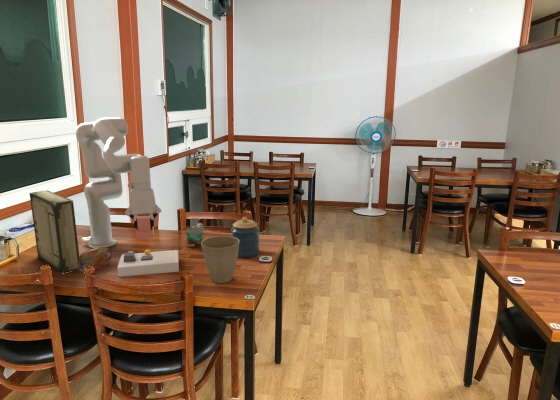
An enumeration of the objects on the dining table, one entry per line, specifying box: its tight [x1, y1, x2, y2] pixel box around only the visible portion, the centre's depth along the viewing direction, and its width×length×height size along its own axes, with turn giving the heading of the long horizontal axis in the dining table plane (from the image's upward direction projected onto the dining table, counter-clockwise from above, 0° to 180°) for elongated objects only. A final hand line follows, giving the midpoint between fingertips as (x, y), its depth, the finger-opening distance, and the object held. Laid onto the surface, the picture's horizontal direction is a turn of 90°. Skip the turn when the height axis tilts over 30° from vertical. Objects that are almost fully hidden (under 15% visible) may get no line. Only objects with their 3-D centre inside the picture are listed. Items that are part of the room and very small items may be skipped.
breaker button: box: [123, 251, 136, 262], centre depth 186 cm, size 4×4×4 cm
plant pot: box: [200, 235, 240, 284], centre depth 173 cm, size 15×15×16 cm
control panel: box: [29, 190, 82, 274], centre depth 190 cm, size 30×8×30 cm, turn 45°
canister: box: [230, 216, 261, 259], centre depth 202 cm, size 13×13×18 cm
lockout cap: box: [135, 215, 155, 240], centre depth 184 cm, size 7×7×8 cm
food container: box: [185, 221, 205, 249], centre depth 216 cm, size 12×6×10 cm, turn 168°
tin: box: [78, 247, 113, 271], centre depth 187 cm, size 15×3×8 cm, turn 148°
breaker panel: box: [117, 249, 180, 278], centre depth 188 cm, size 24×16×6 cm, turn 103°
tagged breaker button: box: [142, 255, 152, 261], centre depth 188 cm, size 4×4×4 cm
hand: (144, 228), depth 184 cm, fingers closed on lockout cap, 5 cm apart
